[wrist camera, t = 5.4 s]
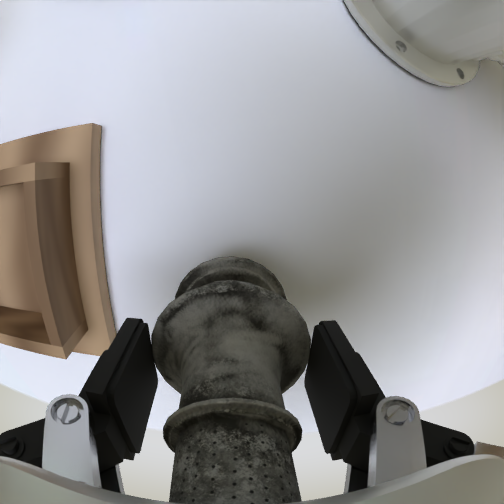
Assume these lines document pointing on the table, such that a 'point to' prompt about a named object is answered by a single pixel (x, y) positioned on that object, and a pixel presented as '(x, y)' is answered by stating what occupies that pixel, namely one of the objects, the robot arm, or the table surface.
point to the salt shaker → (231, 384)
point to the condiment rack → (53, 244)
